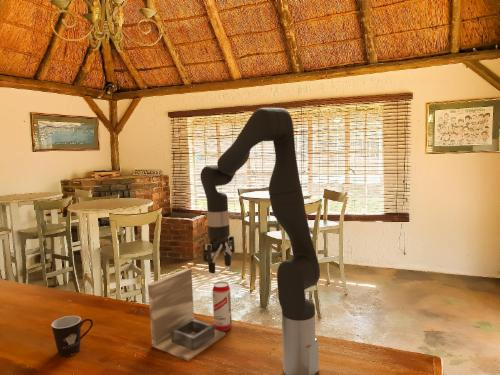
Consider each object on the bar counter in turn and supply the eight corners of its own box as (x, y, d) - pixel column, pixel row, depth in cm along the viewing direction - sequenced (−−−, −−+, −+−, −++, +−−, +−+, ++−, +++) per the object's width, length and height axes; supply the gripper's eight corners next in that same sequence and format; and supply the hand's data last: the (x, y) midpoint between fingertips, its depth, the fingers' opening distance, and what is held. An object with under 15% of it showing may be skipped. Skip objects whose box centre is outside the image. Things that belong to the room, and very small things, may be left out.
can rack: (152, 346, 128) (147, 284, 125) (190, 324, 142) (187, 268, 140) (188, 360, 119) (184, 294, 116) (224, 335, 133) (222, 275, 131)
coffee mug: (51, 360, 121) (48, 330, 120) (57, 346, 130) (54, 318, 128) (91, 354, 124) (89, 324, 123) (94, 340, 133) (92, 312, 131)
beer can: (229, 332, 135) (227, 288, 133) (211, 331, 136) (209, 287, 134) (233, 324, 141) (232, 281, 139) (217, 323, 143) (215, 280, 141)
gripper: (213, 228, 126) (215, 277, 128) (239, 220, 138) (241, 265, 140) (196, 226, 130) (198, 273, 132) (222, 218, 142) (224, 261, 144)
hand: (220, 269), depth 136 cm, fingers open, 8 cm apart
